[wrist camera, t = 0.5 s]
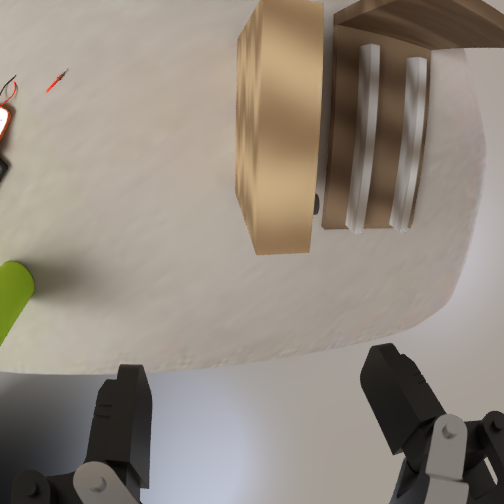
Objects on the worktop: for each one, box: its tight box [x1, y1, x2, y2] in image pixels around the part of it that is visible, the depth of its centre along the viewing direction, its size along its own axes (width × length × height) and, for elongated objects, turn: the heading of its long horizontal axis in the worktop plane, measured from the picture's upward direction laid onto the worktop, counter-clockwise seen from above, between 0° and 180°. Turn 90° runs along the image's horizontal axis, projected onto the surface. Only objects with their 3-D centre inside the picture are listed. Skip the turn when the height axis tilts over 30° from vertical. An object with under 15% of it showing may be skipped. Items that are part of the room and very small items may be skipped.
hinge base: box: [322, 0, 504, 234], centre depth 24 cm, size 24×12×16 cm, turn 179°
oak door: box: [236, 0, 324, 255], centre depth 23 cm, size 17×5×14 cm, turn 179°
